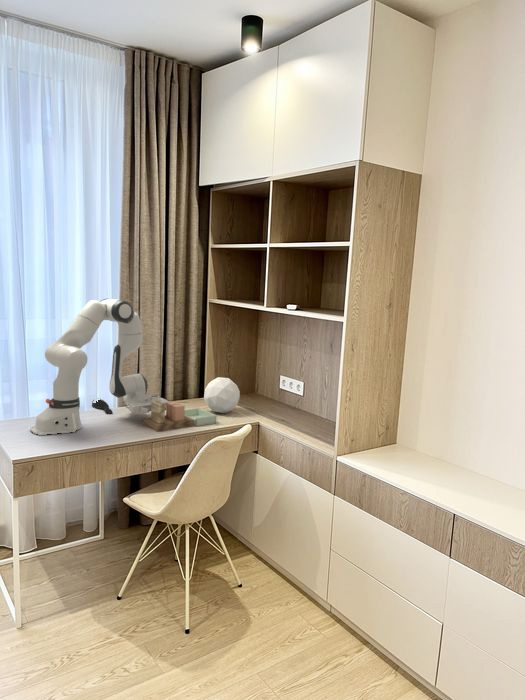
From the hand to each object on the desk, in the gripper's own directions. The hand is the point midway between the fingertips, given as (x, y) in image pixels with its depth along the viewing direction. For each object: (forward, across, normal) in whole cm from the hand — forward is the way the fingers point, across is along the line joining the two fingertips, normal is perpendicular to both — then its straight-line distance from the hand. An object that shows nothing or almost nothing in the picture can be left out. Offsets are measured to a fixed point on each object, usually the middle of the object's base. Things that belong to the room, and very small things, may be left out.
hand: (156, 409), depth 259 cm
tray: (+1, +22, +8) cm, 24 cm away
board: (+1, +6, +8) cm, 10 cm away
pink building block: (+4, +10, +5) cm, 11 cm away
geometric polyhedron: (-7, +43, +8) cm, 44 cm away
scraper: (+1, 0, +5) cm, 5 cm away
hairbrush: (-42, -9, +9) cm, 44 cm away
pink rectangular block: (-1, +10, +5) cm, 11 cm away
